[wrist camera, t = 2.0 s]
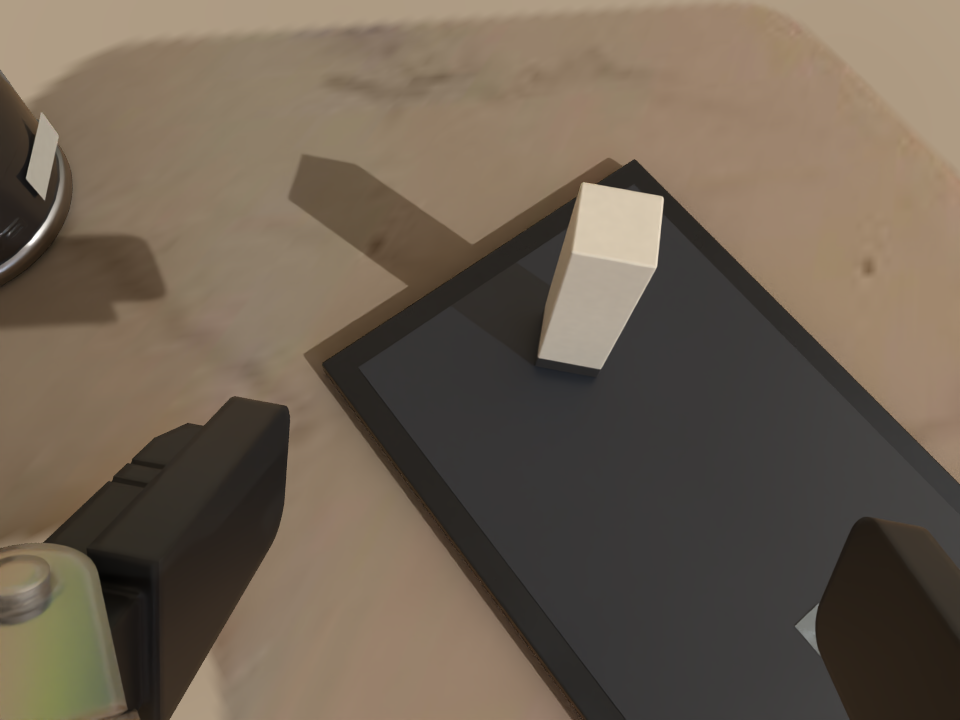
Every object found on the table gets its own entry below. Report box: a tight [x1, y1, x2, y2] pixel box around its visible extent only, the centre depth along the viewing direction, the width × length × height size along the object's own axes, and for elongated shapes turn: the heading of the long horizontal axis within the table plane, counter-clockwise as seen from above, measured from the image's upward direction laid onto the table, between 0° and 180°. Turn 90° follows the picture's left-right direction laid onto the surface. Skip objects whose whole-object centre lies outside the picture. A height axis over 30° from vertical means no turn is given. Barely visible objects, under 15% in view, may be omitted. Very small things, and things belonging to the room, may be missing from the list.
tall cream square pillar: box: [535, 182, 664, 377], centre depth 24 cm, size 2×2×8 cm
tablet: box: [322, 159, 960, 720], centre depth 27 cm, size 22×16×1 cm
